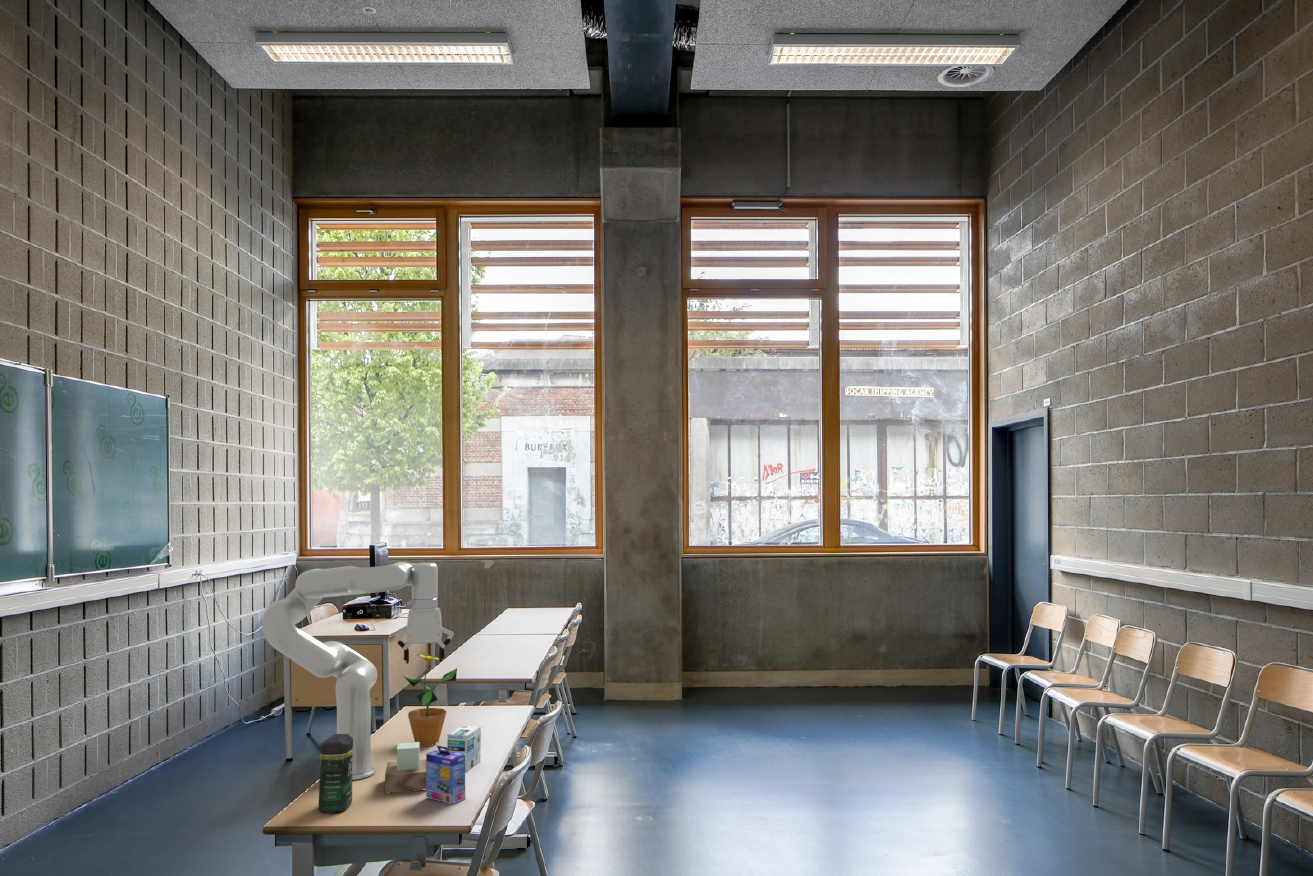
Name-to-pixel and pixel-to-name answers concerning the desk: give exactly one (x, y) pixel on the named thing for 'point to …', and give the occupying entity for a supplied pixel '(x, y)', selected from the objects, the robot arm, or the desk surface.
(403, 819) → the desk surface
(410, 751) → the sage block
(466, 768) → the light bulb box
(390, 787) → the walnut block
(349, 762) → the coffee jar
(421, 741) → the potted plant
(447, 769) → the ink cartridge box
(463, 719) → the desk surface
